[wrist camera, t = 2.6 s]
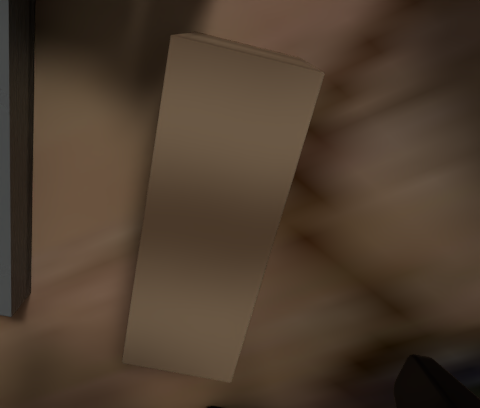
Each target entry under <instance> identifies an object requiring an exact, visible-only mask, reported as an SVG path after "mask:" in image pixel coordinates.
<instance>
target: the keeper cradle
mask: <svg viewBox="0 0 480 408" xmlns="http://www.w3.org/2000/svg"><path fill="white" fill-rule="evenodd" d="M34 26H35V0H0V315H3V316H9V317H12V315H13V314H14V313H15V312H16V310H17V309H18V308H19V307H20V305H21V304H22V303H23V302H24V300H25V299H26V298H27V297H28V295H29V294H30V293H31V228H32V160H33V93H34Z"/></svg>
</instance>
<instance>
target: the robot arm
mask: <svg viewBox="0 0 480 408" xmlns="http://www.w3.org/2000/svg"><path fill="white" fill-rule="evenodd" d="M394 397H395V403H396V408H480V399H479V398H478V397H477V396H476V395H474V394H473V393H472V392H471V391H470V390H469V389H467V388H466V387H465V386H464V385H463V384H462V383H460V382H459V381H458V380H457V379H456V378H455V377H453V376H452V375H451V374H450V373H449V372H448V371H446V370H445V369H444V368H443V367H442V366H441V365H439V364H438V363H437V362H436V361H435V360H434V359H432V358H430V357H427V356H422V355H416V354H412V355H410V356H408V358H407V359H406V361H405V363H404V365H403V367H402V369H401V371H400V373H399V375H398V377H397V379H396V381H395V384H394ZM208 408H221V407H214V406H211V407H208Z"/></svg>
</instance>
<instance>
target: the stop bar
mask: <svg viewBox="0 0 480 408" xmlns="http://www.w3.org/2000/svg"><path fill="white" fill-rule="evenodd" d="M324 74H325V73H324V72H322V71H321V70H319V69H317V68H316V67H314V66H312V65H311V64H309V63H307V62H306V61H304V60H302V59H301V58H299V57H295V56H291V55H287V54H283V53H279V52H275V51H271V50H267V49H263V48H259V47H255V46H251V45H247V44H243V43H239V42H235V41H231V40H227V39H223V38H219V37H215V36H211V35H207V34H203V33H199V32H189V33H182V34H175V35H171V37H170V44H169V51H168V57H167V64H166V71H165V77H164V84H163V91H162V97H161V104H160V111H159V118H158V124H157V131H156V138H155V144H154V151H153V158H152V164H151V171H150V178H149V185H148V191H147V198H146V205H145V211H144V218H143V225H142V231H141V238H140V245H139V252H138V258H137V265H136V272H135V278H134V285H133V292H132V298H131V305H130V312H129V318H128V325H127V332H126V339H125V345H124V352H123V359H122V363H124V364H130V365H135V366H141V367H146V368H152V369H157V370H163V371H169V372H174V373H180V374H185V375H191V376H196V377H202V378H208V379H213V380H219V381H224V382H230V383H231V381H232V378H233V375H234V371H235V368H236V365H237V361H238V358H239V355H240V352H241V348H242V345H243V342H244V338H245V335H246V332H247V328H248V325H249V322H250V319H251V315H252V312H253V309H254V305H255V302H256V299H257V295H258V292H259V289H260V286H261V282H262V279H263V276H264V272H265V269H266V266H267V262H268V259H269V256H270V253H271V249H272V246H273V243H274V239H275V236H276V233H277V229H278V226H279V223H280V219H281V216H282V213H283V210H284V206H285V203H286V200H287V196H288V193H289V190H290V186H291V183H292V180H293V177H294V173H295V170H296V167H297V163H298V160H299V157H300V153H301V150H302V147H303V144H304V140H305V137H306V134H307V130H308V127H309V124H310V120H311V117H312V114H313V111H314V107H315V104H316V101H317V97H318V94H319V91H320V87H321V84H322V81H323V77H324Z"/></svg>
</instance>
